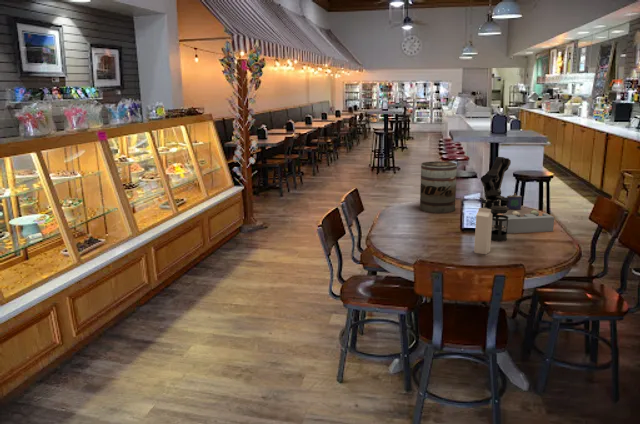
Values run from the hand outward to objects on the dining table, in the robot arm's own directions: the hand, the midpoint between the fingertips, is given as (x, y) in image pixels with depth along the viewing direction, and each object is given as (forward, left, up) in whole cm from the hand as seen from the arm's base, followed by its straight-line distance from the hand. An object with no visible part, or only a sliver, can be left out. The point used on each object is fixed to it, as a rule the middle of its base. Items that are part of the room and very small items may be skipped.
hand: (493, 214), depth 298 cm
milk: (+37, -36, -7) cm, 52 cm away
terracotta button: (+10, -3, -1) cm, 10 cm away
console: (+15, +7, -6) cm, 18 cm away
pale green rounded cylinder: (+12, +20, -1) cm, 23 cm away
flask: (-25, +37, -7) cm, 45 cm away
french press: (+22, -15, -7) cm, 28 cm away
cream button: (+9, +9, -1) cm, 13 cm away
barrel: (-46, -7, -7) cm, 47 cm away
